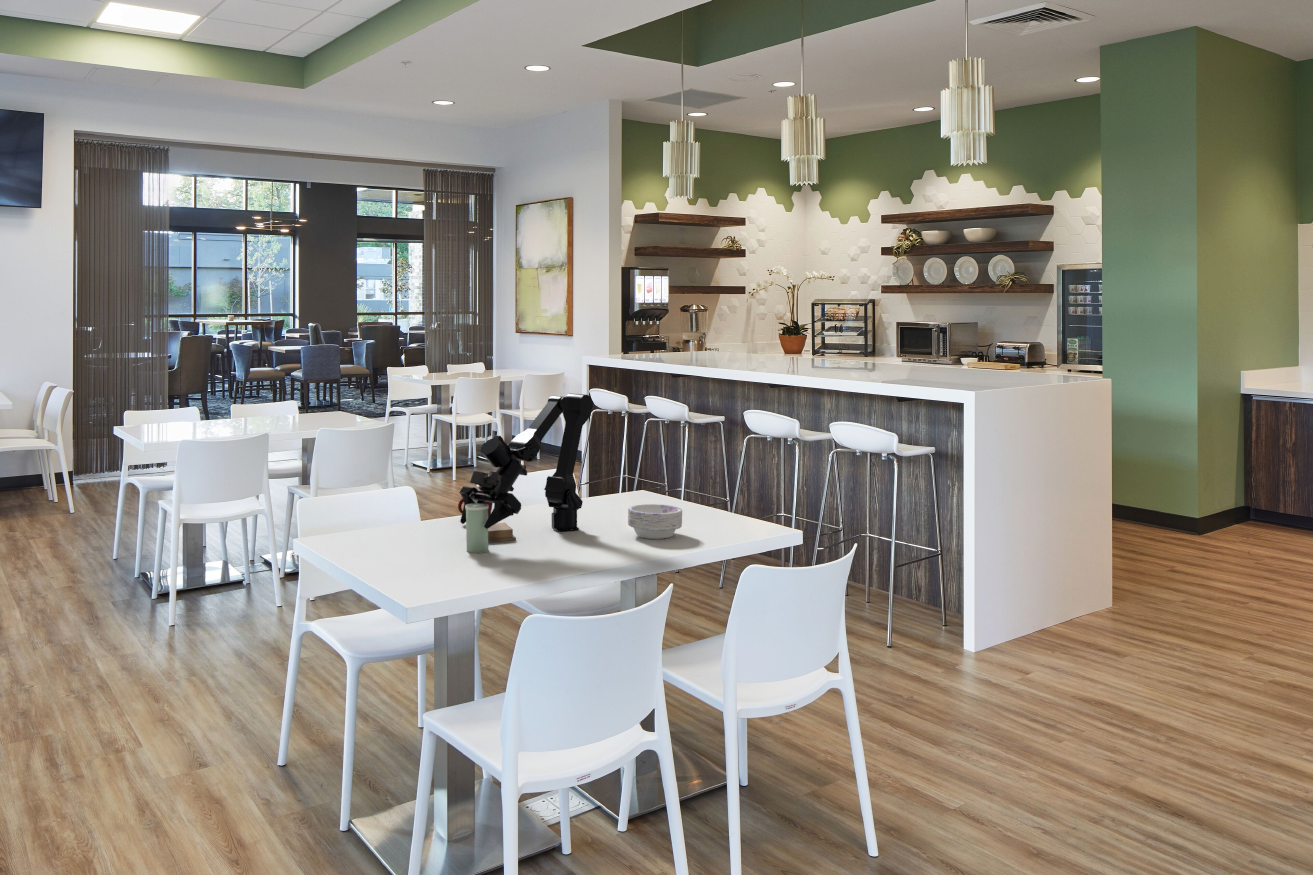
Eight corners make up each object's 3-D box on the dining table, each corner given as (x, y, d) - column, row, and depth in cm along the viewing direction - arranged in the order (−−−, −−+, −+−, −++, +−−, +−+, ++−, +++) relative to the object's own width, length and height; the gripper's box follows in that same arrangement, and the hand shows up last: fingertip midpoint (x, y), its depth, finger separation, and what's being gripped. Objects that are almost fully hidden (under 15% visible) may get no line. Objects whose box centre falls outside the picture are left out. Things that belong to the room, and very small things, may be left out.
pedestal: (506, 532, 282) (506, 522, 281) (515, 540, 272) (515, 529, 272) (470, 535, 278) (470, 524, 277) (478, 543, 268) (478, 532, 268)
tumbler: (486, 546, 264) (485, 502, 263) (491, 552, 259) (490, 506, 257) (463, 548, 262) (463, 504, 260) (468, 554, 256) (467, 508, 255)
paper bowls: (690, 533, 283) (690, 505, 282) (668, 544, 269) (668, 515, 268) (642, 528, 289) (642, 501, 288) (618, 538, 275) (618, 510, 274)
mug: (465, 526, 289) (464, 492, 288) (454, 521, 295) (453, 488, 294) (498, 522, 295) (498, 489, 293) (487, 517, 301) (486, 485, 300)
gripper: (464, 456, 266) (432, 502, 259) (513, 462, 255) (481, 511, 248) (486, 481, 273) (456, 527, 266) (535, 489, 262) (504, 537, 255)
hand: (473, 525), depth 258 cm, fingers open, 9 cm apart
